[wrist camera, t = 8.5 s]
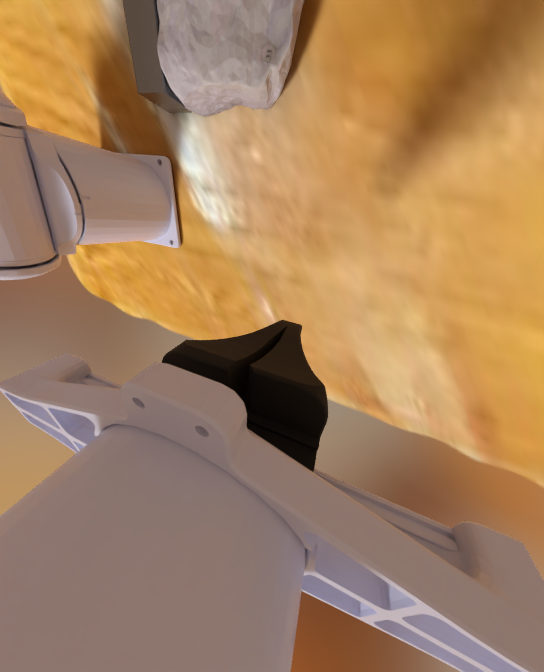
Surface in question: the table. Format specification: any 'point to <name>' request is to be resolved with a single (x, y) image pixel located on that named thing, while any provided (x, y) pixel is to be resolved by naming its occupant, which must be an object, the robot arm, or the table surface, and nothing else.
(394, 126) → the table surface
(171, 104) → the bar
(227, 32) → the stone block
